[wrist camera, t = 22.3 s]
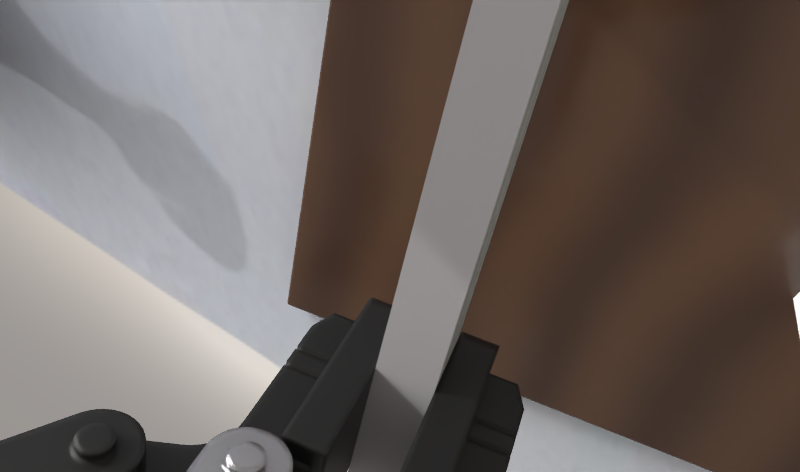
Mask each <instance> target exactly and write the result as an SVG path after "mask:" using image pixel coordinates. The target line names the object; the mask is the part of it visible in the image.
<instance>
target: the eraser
mask: <svg viewBox="0 0 800 472" xmlns="http://www.w3.org/2000/svg"><path fill="white" fill-rule="evenodd" d="M793 301H794V307H795V313H796V319H797V324H798V330H799V336H800V292H799V293H798V294H797V295H796V296H795V297H794V298H793Z"/></svg>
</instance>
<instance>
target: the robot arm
mask: <svg viewBox="0 0 800 472" xmlns="http://www.w3.org/2000/svg"><path fill="white" fill-rule="evenodd" d="M391 308H392V304H389V303H386V302H384V301H381V300H378V299H376V298H373V297H371V298H370V299H369V300H368V302H367V303H366V305H365V306H364V308H363V309H362V311H361V313H360V314H359V316H358V317H357V319H356V320H355V321H354V320H351V319H349V318H346V317H343V316H341V315H338V314H336V313H334V314H332V315H330V316H329V317H327V318H325V319H323V320H322V321H320V322H318V323H316V324H315V325H313V326H312V327H311V328H310V329H309V331H308V332H307V334H306V335H305V336H304V338H303V339H302V341H301V342H300V343H299V345H298V347H297V349H295V350H294V352H293V353H292V355H291V356H290V357H289V359H288V360H287V363H286V365H284V366H283V367H282V369H281V370H280V371H279V373H278V374H277V376H276V377H275V378H274V380H273V381H272V382H271V384H270V385H269V387H268V388H267V390H266V391H265V392H264V394H263V395H262V396H261V398H260V399H259V401H258V402H257V404H256V405H255V406H254V408H253V409H252V411H251V412H250V413H249V415H248V416H247V417H246V419H245V420H244V421H243V423H242V424H241V425H240V426H239V427H238V428H235V429H230V430H227V431H224V432H222V433H220V434H218V435H217V436H215V437H214V438H213V439H211V440H210V441H209V442H208V443H206V444H201V445H179V444H171V443H163V442H153V441H146V437H145V433H144V430H143V428H142V427H141V425H140V424H139V423H138V422H137V421H136V420H135V419H134V418H132V417H131V416H129V415H127V414H125V413H123V412H120V411H116V410H109V409H96V410H90V411H85V412H81V413H78V414H75V415H72V416H70V417H67V418H64V419H61V420H58V421H56V422H53V423H50V424H47V425H44V426H41V427H38V428H36V429H33V430H30V431H27V432H24V433H21V434H18V435H16V436H13V437H10V438H7V439H4V440H1V441H0V472H347V470H348V469H349V467H350V463H351V459H352V455H353V452H354V448H355V444H356V440H357V436H358V433H359V429H360V425H361V421H362V417H363V414H364V410H365V406H366V402H367V399H368V395H369V391H370V387H371V383H372V380H373V376H374V372H375V368H376V365H377V361H378V357H379V353H380V349H381V346H382V342H383V338H384V334H385V330H386V327H387V323H388V319H389V315H390V312H391ZM498 349H499V345H497V344H494V343H491V342H489V341H486V340H483V339H481V338H478V337H476V336H473V335H470V334H468V333H465V332H461V334H460V336H459V338H458V340H457V342H456V345H455V347H454V349H453V352H452V354H451V356H450V358H449V361H448V363H447V365H446V367H445V370H444V372H443V374H442V377H441V379H440V381H439V383H438V386H437V388H436V390H435V392H434V395H433V397H432V399H431V402H430V404H429V406H428V408H427V411H426V413H425V415H424V417H423V420H422V422H421V424H420V427H419V429H418V431H417V433H416V436H415V438H414V440H413V442H412V445H411V447H410V449H409V452H408V454H407V456H406V458H405V461H404V463H403V465H402V467H401V470H400V472H506V470H507V467H508V463H509V460H510V455H511V453H512V449H513V446H514V442H515V439H516V435H517V432H518V428H519V425H520V421H521V418H522V414H523V411H524V408H523V403H522V399H521V394H520V390H519V385H518V384H516V383H513V382H511V381H508V380H506V379H503V378H500V377H498V376H495V375H493V374H490V371H491V369H492V366H493V363H494V360H495V358H496V355H497V352H498Z"/></svg>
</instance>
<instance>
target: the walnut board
mask: <svg viewBox="0 0 800 472" xmlns="http://www.w3.org/2000/svg"><path fill="white" fill-rule="evenodd" d="M472 2H473V0H331V1H330V8H329V15H328V22H327V29H326V36H325V43H324V50H323V57H322V65H321V72H320V79H319V86H318V93H317V100H316V107H315V114H314V121H313V128H312V135H311V142H310V149H309V156H308V163H307V170H306V177H305V184H304V191H303V198H302V205H301V213H300V220H299V227H298V234H297V241H296V248H295V255H294V262H293V269H292V276H291V283H290V290H289V297H288V304H289V305H291V306H294V307H296V308H299V309H301V310H304V311H307V312H309V313H312V314H314V315H317V316H319V317H322V318H324V319H325V318H327V317H329V316H330V315H332V314H334V313H336V314H338V315H341V316H343V317H346V318H349V319H351V320H354V321H355V320H356V319H357V317H358V316H359V314H360V313H361V311H362V309H363V308H364V306H365V305H366V303H367V302H368V300H369V299H370V298H371V297H373V298H376V299H378V300H381V301H384V302H386V303H389V304H393V300H394V296H395V293H396V289H397V285H398V281H399V278H400V274H401V270H402V266H403V262H404V259H405V255H406V251H407V247H408V243H409V240H410V236H411V232H412V228H413V225H414V221H415V217H416V213H417V209H418V206H419V202H420V198H421V194H422V190H423V187H424V183H425V179H426V175H427V172H428V168H429V164H430V160H431V156H432V153H433V149H434V145H435V141H436V138H437V134H438V130H439V126H440V123H441V119H442V115H443V111H444V107H445V104H446V100H447V96H448V92H449V89H450V85H451V81H452V77H453V74H454V70H455V66H456V62H457V59H458V55H459V51H460V47H461V43H462V40H463V36H464V32H465V28H466V25H467V21H468V17H469V13H470V10H471V6H472ZM799 292H800V0H569V3H568V6H567V9H566V12H565V16H564V19H563V22H562V25H561V28H560V31H559V34H558V37H557V40H556V43H555V46H554V49H553V52H552V55H551V58H550V61H549V64H548V67H547V70H546V73H545V76H544V79H543V82H542V86H541V89H540V92H539V95H538V98H537V101H536V104H535V107H534V110H533V113H532V116H531V119H530V122H529V125H528V128H527V131H526V134H525V137H524V140H523V143H522V146H521V149H520V152H519V156H518V159H517V162H516V165H515V168H514V171H513V174H512V177H511V180H510V183H509V186H508V189H507V192H506V195H505V198H504V201H503V204H502V207H501V210H500V213H499V216H498V219H497V222H496V226H495V229H494V232H493V235H492V238H491V241H490V244H489V247H488V250H487V253H486V256H485V259H484V262H483V265H482V268H481V271H480V274H479V277H478V280H477V283H476V286H475V289H474V292H473V296H472V299H471V302H470V305H469V308H468V311H467V314H466V317H465V320H464V323H463V326H462V329H461V332H465V333H468V334H470V335H473V336H476V337H478V338H481V339H483V340H486V341H489V342H491V343H494V344H497V345H499V349H498V352H497V355H496V358H495V360H494V363H493V366H492V369H491V371H490V374H493V375H495V376H498V377H500V378H503V379H506V380H508V381H511V382H513V383H516V384H518V385H519V390H520V394H521V396H522V397H525V398H527V399H530V400H532V401H535V402H537V403H540V404H543V405H545V406H548V407H550V408H553V409H555V410H558V411H560V412H563V413H565V414H568V415H570V416H573V417H575V418H578V419H581V420H583V421H586V422H588V423H591V424H593V425H596V426H598V427H601V428H603V429H606V430H608V431H611V432H614V433H616V434H619V435H621V436H624V437H626V438H629V439H631V440H634V441H636V442H639V443H641V444H644V445H647V446H649V447H652V448H654V449H657V450H659V451H662V452H664V453H667V454H669V455H672V456H674V457H677V458H680V459H682V460H685V461H687V462H690V463H692V464H695V465H697V466H700V467H702V468H705V469H707V470H710V471H712V472H800V336H799V330H798V324H797V319H796V313H795V307H794V301H793V298H794V297H795V296H796V295H797V294H798V293H799ZM461 332H460V334H461ZM459 336H460V335H459Z"/></svg>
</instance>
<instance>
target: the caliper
mask: <svg viewBox="0 0 800 472" xmlns="http://www.w3.org/2000/svg"><path fill="white" fill-rule="evenodd" d="M568 3H569V0H473V2H472V6H471V10H470V13H469V17H468V21H467V25H466V28H465V32H464V36H463V40H462V43H461V47H460V51H459V55H458V59H457V62H456V66H455V70H454V74H453V77H452V81H451V85H450V89H449V92H448V96H447V100H446V104H445V107H444V111H443V115H442V119H441V123H440V126H439V130H438V134H437V138H436V141H435V145H434V149H433V153H432V156H431V160H430V164H429V168H428V172H427V175H426V179H425V183H424V187H423V190H422V194H421V198H420V202H419V206H418V209H417V213H416V217H415V221H414V225H413V228H412V232H411V236H410V240H409V243H408V247H407V251H406V255H405V259H404V262H403V266H402V270H401V274H400V278H399V281H398V285H397V289H396V293H395V296H394V300H393V304H392V308H391V312H390V315H389V319H388V323H387V327H386V330H385V334H384V338H383V342H382V346H381V349H380V353H379V357H378V361H377V365H376V368H375V372H374V376H373V380H372V383H371V387H370V391H369V395H368V399H367V402H366V406H365V410H364V414H363V417H362V421H361V425H360V429H359V433H358V436H357V440H356V444H355V448H354V452H353V455H352V459H351V463H350V467H349V470H348V472H400V470H401V467H402V465H403V463H404V461H405V458H406V456H407V454H408V452H409V449H410V447H411V445H412V442H413V440H414V438H415V436H416V433H417V431H418V429H419V427H420V424H421V422H422V420H423V417H424V415H425V413H426V411H427V408H428V406H429V404H430V402H431V399H432V397H433V395H434V392H435V390H436V388H437V386H438V383H439V381H440V379H441V377H442V374H443V372H444V370H445V367H446V365H447V363H448V361H449V358H450V356H451V354H452V352H453V349H454V347H455V345H456V342H457V340H458V338H459V335H460V332H461V329H462V326H463V323H464V320H465V317H466V314H467V311H468V308H469V305H470V302H471V299H472V296H473V292H474V289H475V286H476V283H477V280H478V277H479V274H480V271H481V268H482V265H483V262H484V259H485V256H486V253H487V250H488V247H489V244H490V241H491V238H492V235H493V232H494V229H495V226H496V222H497V219H498V216H499V213H500V210H501V207H502V204H503V201H504V198H505V195H506V192H507V189H508V186H509V183H510V180H511V177H512V174H513V171H514V168H515V165H516V162H517V159H518V156H519V152H520V149H521V146H522V143H523V140H524V137H525V134H526V131H527V128H528V125H529V122H530V119H531V116H532V113H533V110H534V107H535V104H536V101H537V98H538V95H539V92H540V89H541V86H542V82H543V79H544V76H545V73H546V70H547V67H548V64H549V61H550V58H551V55H552V52H553V49H554V46H555V43H556V40H557V37H558V34H559V31H560V28H561V25H562V22H563V19H564V16H565V12H566V9H567V6H568Z"/></svg>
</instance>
